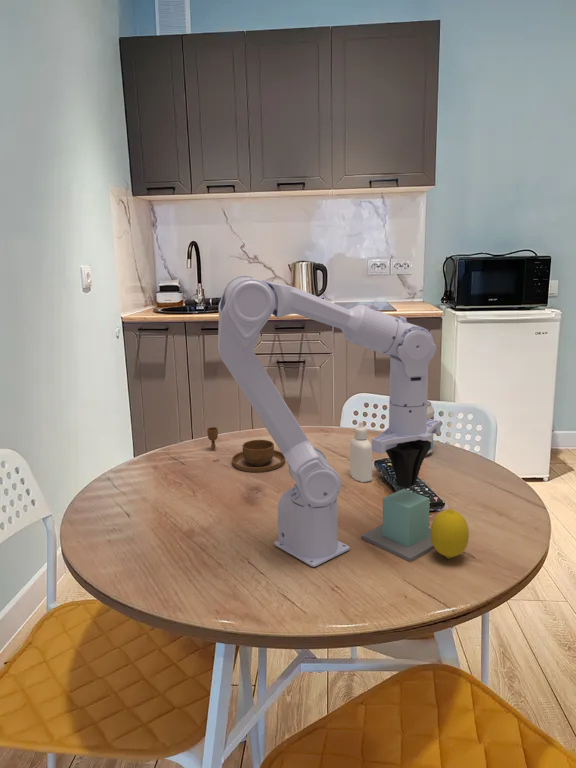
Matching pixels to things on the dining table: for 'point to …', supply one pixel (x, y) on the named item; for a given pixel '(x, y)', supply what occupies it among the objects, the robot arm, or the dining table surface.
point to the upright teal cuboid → (405, 517)
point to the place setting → (252, 453)
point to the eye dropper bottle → (361, 455)
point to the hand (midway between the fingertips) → (406, 485)
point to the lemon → (449, 533)
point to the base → (397, 548)
